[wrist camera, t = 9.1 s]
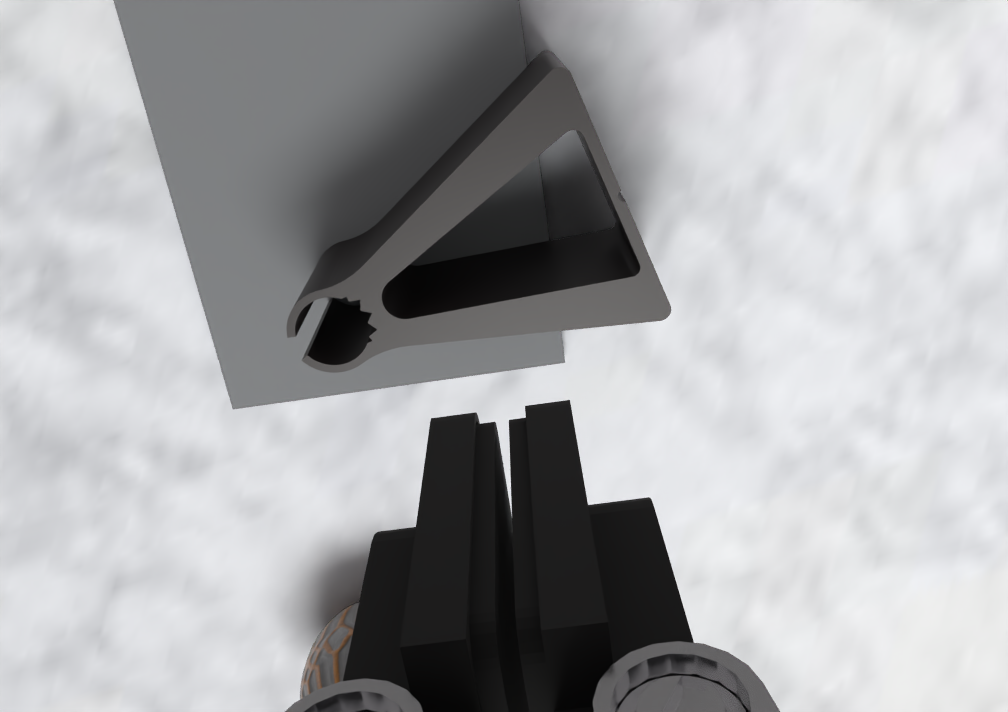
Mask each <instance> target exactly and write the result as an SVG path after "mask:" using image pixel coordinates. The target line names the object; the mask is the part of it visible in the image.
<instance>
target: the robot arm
mask: <svg viewBox="0 0 1008 712" xmlns="http://www.w3.org/2000/svg"><path fill="white" fill-rule="evenodd" d="M525 411H526V418H521V419H513V420H509V436H510V466H511V496H512V516H511V510H510V504H509V498H508V492H507V486H506V479H505V473H504V467H503V461H502V455H501V449H500V443H499V437H498V431H497V427H496V423H495V422H490V423H483V424H480V423H479V419H478V415H477V413H469V414H461V415H454V416H446V417H439V418H431V422H430V429H429V436H428V443H427V451H426V458H425V465H424V473H423V480H422V487H421V495H420V502H419V509H418V516H417V524H416V527H413V528H405V529H397V530H389V531H381V532H377V533H376V534H374V537H373V540H372V544H371V548H370V553H369V558H368V563H367V567H366V572H365V577H364V582H363V587H362V591H361V596H360V601H359V606H358V610H357V615H356V620H355V625H354V629H353V634H352V639H351V644H350V649H349V653H348V658H347V663H346V668H345V672H344V677H343V681H341V682H338V683H335V684H332V685H329V686H326V687H324V688H321V689H318V690H316V691H314V692H312V693H311V694H309V695H307V696H306V697H304V698H302V699H301V700H299V701H297V702H295V703H294V704H293V705H292V706H291V707H290V708H288V709H287V710H286V711H285V712H780V711H779V709H778V707H777V706H776V704H775V702H774V701H773V699H772V697H771V696H770V694H769V692H768V690H767V689H766V687H765V685H764V684H763V682H762V681H761V680H760V679H759V678H758V676H757V675H756V674H755V673H754V672H753V670H752V669H751V668H750V667H749V666H748V665H747V664H745V663H744V662H742V661H741V660H739V659H738V658H736V657H735V656H733V655H731V654H730V653H728V652H726V651H723V650H720V649H717V648H714V647H711V646H708V645H705V644H700V643H694V642H693V638H692V635H691V632H690V628H689V625H688V621H687V618H686V615H685V611H684V608H683V604H682V601H681V598H680V594H679V591H678V587H677V584H676V580H675V577H674V574H673V570H672V567H671V563H670V560H669V557H668V553H667V550H666V546H665V543H664V540H663V536H662V533H661V529H660V526H659V522H658V519H657V516H656V512H655V509H654V506H653V503H652V500H651V499H650V498H641V499H633V500H625V501H617V502H610V503H602V504H594V505H588V503H587V497H586V491H585V486H584V480H583V474H582V468H581V462H580V457H579V451H578V445H577V439H576V434H575V428H574V422H573V416H572V410H571V405H570V400H567V401H559V402H552V403H544V404H537V405H529V406H525Z"/></svg>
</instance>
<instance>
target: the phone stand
mask: <svg viewBox="0 0 1008 712" xmlns="http://www.w3.org/2000/svg"><path fill="white" fill-rule="evenodd" d="M570 130H576V131H577V133H578V135H579V138H580V140H581V142H582V144H583V147H584V149H585V151H586V154H587V156H588V158H589V160H590V163H591V165H592V167H593V170H594V172H595V174H596V176H597V179H598V181H599V183H600V186H601V188H602V190H603V192H604V195H605V197H606V199H607V202H608V204H609V206H610V208H611V211H612V213H613V215H614V218H615V221H616V222H615V225H614V227H613V228H611V229H608V230H603V231H597V232H592V233H587V234H582V235H576V236H571V237H566V238H561V239H555V240H550V241H545V242H540V243H535V244H529V245H524V246H519V247H514V248H508V249H503V250H498V251H493V252H488V253H482V254H477V255H472V256H467V257H461V258H456V259H451V260H446V261H441V262H435V263H430V264H425V265H419V266H414V265H410V264H411V263H412V262H413V261H414V260H415V259H417V258H418V257H419V256H420V255H421V254H423V253H424V252H425V251H426V250H427V249H428V248H430V247H431V246H432V245H433V244H434V243H436V242H437V241H438V240H439V239H440V238H441V237H443V236H444V235H445V234H446V233H447V232H449V231H450V230H451V229H452V228H453V227H455V226H456V225H457V224H458V223H459V222H460V221H462V220H463V219H464V218H465V217H466V216H468V215H469V214H470V213H471V212H472V211H474V210H475V209H476V208H477V207H478V206H479V205H481V204H482V203H483V202H484V201H485V200H487V199H488V198H489V197H490V196H491V195H492V194H494V193H495V192H496V191H497V190H498V189H500V188H501V187H502V186H503V185H504V184H506V183H507V182H508V181H509V180H510V179H511V178H513V177H514V176H515V175H516V174H517V173H519V172H520V171H521V170H522V169H523V168H525V167H526V166H527V165H528V164H529V163H530V162H532V161H533V160H534V159H535V158H536V157H538V156H539V155H540V154H541V153H542V152H544V151H545V150H546V149H547V148H548V147H549V146H551V145H552V144H553V143H554V142H555V141H557V140H558V139H559V138H560V137H561V136H562V135H564V134H565V133H566V132H568V131H570ZM620 191H621V189H620V187H619V185H618V182H617V180H616V178H615V175H614V173H613V171H612V168H611V166H610V164H609V161H608V159H607V157H606V154H605V152H604V150H603V147H602V145H601V143H600V140H599V138H598V136H597V133H596V131H595V129H594V126H593V124H592V122H591V119H590V117H589V115H588V112H587V110H586V108H585V105H584V103H583V101H582V98H581V96H580V94H579V91H578V89H577V87H576V84H575V82H574V80H573V77H572V75H571V73H570V72H569V70H568V69H567V68H566V67H565V66H564V65H563V64H562V62H561V61H560V60H559V59H558V58H557V57H556V56H555V54H554V53H552V52H551V51H543V52H541V53H540V54H539V55H538V56H537V57H536V58H535V59H534V60H533V61H532V62H531V63H530V64H529V65H528V66H527V67H526V68H525V69H524V70H523V71H522V72H521V74H520V75H519V76H518V77H517V78H516V79H515V80H514V81H513V82H512V83H511V84H510V85H509V86H508V87H507V88H506V89H505V90H504V91H503V92H502V93H501V94H500V96H499V97H498V98H497V99H496V100H495V101H494V102H493V103H492V104H491V105H490V106H489V107H488V108H487V109H486V110H485V111H484V112H483V113H482V114H481V115H480V116H479V118H478V119H477V120H476V121H475V122H474V123H473V124H472V125H471V126H470V127H469V128H468V129H467V130H466V131H465V132H464V133H463V134H462V135H461V136H460V137H459V138H458V140H457V141H456V142H455V143H454V144H453V145H452V146H451V147H450V148H449V149H448V150H447V151H446V152H445V153H444V154H443V155H442V156H441V157H440V158H439V159H438V160H437V162H436V163H435V164H434V165H433V166H432V167H431V168H430V169H429V170H428V171H427V172H426V173H425V174H424V175H423V176H422V177H421V178H420V179H419V180H418V181H417V182H416V184H415V185H414V186H413V187H412V188H411V189H410V190H409V191H408V192H407V193H406V194H405V195H404V196H403V197H402V198H401V199H400V200H399V201H398V202H397V203H396V205H395V206H394V207H393V208H392V209H391V210H390V211H389V212H388V213H387V214H386V215H385V216H384V217H383V218H382V219H381V220H380V221H379V222H378V223H377V224H376V225H375V226H373V227H372V228H371V229H369V230H368V231H366V232H365V233H363V234H361V235H359V236H357V237H354V238H351V239H349V240H345V241H341V242H338V243H336V244H334V245H332V246H331V247H330V248H328V249H327V250H326V251H325V252H324V253H323V255H322V256H321V258H320V260H319V262H318V263H317V265H316V267H315V269H314V271H313V272H312V274H311V276H310V278H309V280H308V281H307V283H306V285H305V287H304V289H303V290H302V292H301V294H300V296H299V298H298V299H297V301H296V303H295V305H294V307H293V308H292V310H291V312H290V314H289V317H288V320H287V338H291V337H296V336H297V334H298V332H299V330H300V328H301V326H302V324H303V322H304V320H305V318H306V316H307V314H308V312H309V310H310V308H311V306H312V304H313V302H314V301H315V300H317V299H321V298H327V297H333V298H332V299H331V300H330V301H329V302H328V304H327V306H326V308H325V310H324V313H323V315H322V317H321V319H320V321H319V324H318V326H317V328H316V330H315V332H314V335H313V337H312V339H311V341H310V343H309V345H308V348H307V350H306V352H305V354H304V356H303V359H302V361H303V362H304V363H305V364H307V365H308V366H310V367H312V368H314V369H317V370H320V371H324V372H330V373H339V372H345V371H349V370H352V369H354V368H356V367H358V366H360V365H361V364H362V363H364V362H365V361H367V360H368V359H370V358H372V357H374V356H375V355H378V354H380V353H382V352H385V351H388V350H391V349H395V348H399V347H405V346H414V345H424V344H434V343H444V342H454V341H464V340H474V339H484V338H494V337H504V336H514V335H524V334H533V333H543V332H553V331H563V330H573V329H583V328H593V327H603V326H613V325H623V324H633V323H643V322H653V321H661V320H664V319H666V318H667V317H668V316H669V315H670V313H671V306H670V304H669V301H668V299H667V297H666V294H665V292H664V290H663V287H662V285H661V283H660V280H659V278H658V276H657V273H656V271H655V269H654V266H653V264H652V262H651V259H650V257H649V255H648V252H647V250H646V248H645V245H644V243H643V241H642V238H641V236H640V234H639V231H638V229H637V227H636V224H635V222H634V220H633V217H632V215H631V213H630V210H629V208H628V206H627V203H626V201H625V200H624V198H623V196H622V195H621V193H620ZM344 297H347V299H348V301H349V302H350V301H355V300H360V305H358V306H353V305H348V304H344V303H342V302H340V301H338V300H337V299H335V298H340V299H342V298H344Z"/></svg>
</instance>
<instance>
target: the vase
mask: <svg viewBox="0 0 1008 712" xmlns="http://www.w3.org/2000/svg"><path fill="white" fill-rule="evenodd" d="M358 606H359V602H358V603H355V604H353V605H351V606H349V607H347V608H346V609H344V610H343V611H341V612H340V613H339V614H338V615H336V616H335V617H334V618H333V619H332V620H331V621H330V622H329V623H328V624H327V625H326V627H325V628H324V629H323V630H322V632H321V633H320V635H319V636H318V638H317V639H316V641H315V643H314V644H313V646H312V648H311V651H310V653H309V656H308V658H307V661H306V665H305V668H304V672H303V676H302V681H301V690H300V700H301V699H302V698H304V697H306V696H307V695H309V694H311V693H312V692H314V691H316V690H318V689H321V688H324V687H326V686H329V685H332V684H335V683H338V682H341V681H343V677H344V672H345V668H346V663H347V658H348V653H349V649H350V644H351V639H352V634H353V629H354V625H355V620H356V615H357V610H358Z"/></svg>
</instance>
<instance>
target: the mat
mask: <svg viewBox="0 0 1008 712" xmlns="http://www.w3.org/2000/svg"><path fill="white" fill-rule="evenodd" d="M114 3H115V7H116V10H117V14H118V17H119V21H120V24H121V27H122V31H123V34H124V38H125V41H126V44H127V48H128V51H129V55H130V58H131V62H132V65H133V68H134V72H135V75H136V79H137V82H138V86H139V89H140V92H141V96H142V99H143V103H144V106H145V110H146V113H147V116H148V120H149V123H150V127H151V130H152V134H153V137H154V140H155V144H156V147H157V151H158V154H159V158H160V161H161V164H162V168H163V171H164V175H165V178H166V182H167V185H168V188H169V192H170V195H171V199H172V202H173V206H174V209H175V212H176V216H177V219H178V223H179V226H180V229H181V233H182V236H183V240H184V243H185V247H186V250H187V253H188V257H189V260H190V264H191V267H192V271H193V274H194V277H195V281H196V284H197V288H198V291H199V295H200V298H201V301H202V305H203V308H204V312H205V315H206V319H207V322H208V325H209V329H210V332H211V336H212V339H213V343H214V346H215V349H216V353H217V356H218V360H219V363H220V367H221V370H222V373H223V377H224V380H225V384H226V387H227V391H228V394H229V397H230V401H231V404H232V408H233V409H239V408H246V407H253V406H260V405H267V404H274V403H282V402H289V401H296V400H303V399H310V398H317V397H324V396H331V395H338V394H345V393H353V392H360V391H367V390H374V389H381V388H388V387H395V386H402V385H409V384H417V383H424V382H431V381H438V380H445V379H452V378H459V377H466V376H473V375H481V374H488V373H495V372H502V371H509V370H516V369H523V368H530V367H537V366H545V365H552V364H559V363H565V359H564V351H563V343H562V335H561V331H553V332H543V333H533V334H524V335H514V336H504V337H494V338H484V339H474V340H464V341H454V342H444V343H434V344H424V345H414V346H405V347H399V348H395V349H391V350H388V351H385V352H382V353H380V354H378V355H375V356H374V357H372V358H370V359H368V360H367V361H365V362H364V363H362V364H361V365H360V366H358V367H356V368H354V369H352V370H349V371H345V372H339V373H330V372H324V371H320V370H317V369H314V368H312V367H310V366H308V365H307V364H305V363H304V362H303V361H302V359H303V356H304V354H305V352H306V350H307V348H308V345H309V343H310V341H311V339H312V337H313V335H314V332H315V330H316V328H317V326H318V324H319V321H320V319H321V317H322V315H323V313H324V310H325V308H326V306H327V304H328V302H329V301H330V300H331V299H332V298H333V297H327V298H321V299H317V300H315V301H314V302H313V304H312V306H311V308H310V310H309V312H308V314H307V316H306V318H305V320H304V322H303V324H302V326H301V328H300V330H299V332H298V334H297V336H296V337H291V338H287V320H288V317H289V314H290V312H291V310H292V308H293V307H294V305H295V303H296V301H297V299H298V298H299V296H300V294H301V292H302V290H303V289H304V287H305V285H306V283H307V281H308V280H309V278H310V276H311V274H312V272H313V271H314V269H315V267H316V265H317V263H318V262H319V260H320V258H321V256H322V255H323V253H324V252H325V251H326V250H327V249H328V248H330V247H331V246H332V245H334V244H336V243H338V242H341V241H345V240H349V239H351V238H354V237H357V236H359V235H361V234H363V233H365V232H366V231H368V230H369V229H371V228H372V227H373V226H375V225H376V224H377V223H378V222H379V221H380V220H381V219H382V218H383V217H384V216H385V215H386V214H387V213H388V212H389V211H390V210H391V209H392V208H393V207H394V206H395V205H396V203H397V202H398V201H399V200H400V199H401V198H402V197H403V196H404V195H405V194H406V193H407V192H408V191H409V190H410V189H411V188H412V187H413V186H414V185H415V184H416V182H417V181H418V180H419V179H420V178H421V177H422V176H423V175H424V174H425V173H426V172H427V171H428V170H429V169H430V168H431V167H432V166H433V165H434V164H435V163H436V162H437V160H438V159H439V158H440V157H441V156H442V155H443V154H444V153H445V152H446V151H447V150H448V149H449V148H450V147H451V146H452V145H453V144H454V143H455V142H456V141H457V140H458V138H459V137H460V136H461V135H462V134H463V133H464V132H465V131H466V130H467V129H468V128H469V127H470V126H471V125H472V124H473V123H474V122H475V121H476V120H477V119H478V118H479V116H480V115H481V114H482V113H483V112H484V111H485V110H486V109H487V108H488V107H489V106H490V105H491V104H492V103H493V102H494V101H495V100H496V99H497V98H498V97H499V96H500V94H501V93H502V92H503V91H504V90H505V89H506V88H507V87H508V86H509V85H510V84H511V83H512V82H513V81H514V80H515V79H516V78H517V77H518V76H519V75H520V74H521V72H522V71H523V70H524V69H525V68H526V67H527V60H526V53H525V45H524V37H523V29H522V21H521V13H520V6H519V0H114ZM545 241H549V233H548V225H547V218H546V210H545V202H544V194H543V186H542V178H541V170H540V163H539V156H538V157H536V158H535V159H534V160H533V161H532V162H530V163H529V164H528V165H527V166H526V167H525V168H523V169H522V170H521V171H520V172H519V173H517V174H516V175H515V176H514V177H513V178H511V179H510V180H509V181H508V182H507V183H506V184H504V185H503V186H502V187H501V188H500V189H498V190H497V191H496V192H495V193H494V194H492V195H491V196H490V197H489V198H488V199H487V200H485V201H484V202H483V203H482V204H481V205H479V206H478V207H477V208H476V209H475V210H474V211H472V212H471V213H470V214H469V215H468V216H466V217H465V218H464V219H463V220H462V221H460V222H459V223H458V224H457V225H456V226H455V227H453V228H452V229H451V230H450V231H449V232H447V233H446V234H445V235H444V236H443V237H441V238H440V239H439V240H438V241H437V242H436V243H434V244H433V245H432V246H431V247H430V248H428V249H427V250H426V251H425V252H424V253H423V254H421V255H420V256H419V257H418V258H417V259H415V260H414V261H413V262H412V263H411V264H410V265H414V266H419V265H425V264H430V263H435V262H441V261H446V260H451V259H456V258H461V257H467V256H472V255H477V254H482V253H488V252H493V251H498V250H503V249H508V248H514V247H519V246H524V245H529V244H535V243H540V242H545ZM335 299H337V300H338V301H340V302H342V303H344V304H348V305H353V306H358V305H360V300H355V301H350V302H349V301H348V299H347V297H344V298H342V299H340V298H335Z"/></svg>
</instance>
